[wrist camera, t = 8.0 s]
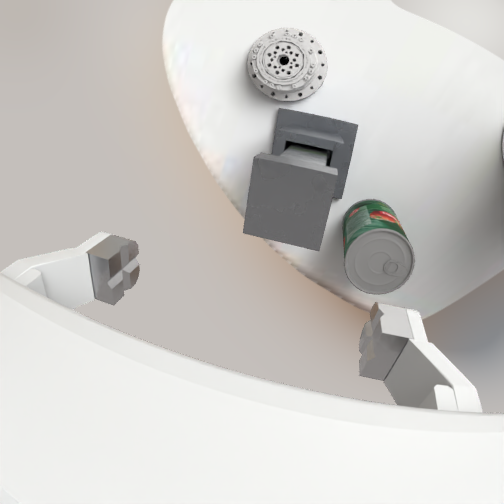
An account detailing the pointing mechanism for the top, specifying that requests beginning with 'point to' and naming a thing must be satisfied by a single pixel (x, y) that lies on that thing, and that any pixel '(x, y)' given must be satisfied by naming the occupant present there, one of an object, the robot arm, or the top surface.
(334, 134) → the grey hollow housing
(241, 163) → the top surface
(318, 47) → the mechanical component
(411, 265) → the canned tomato
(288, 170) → the column
